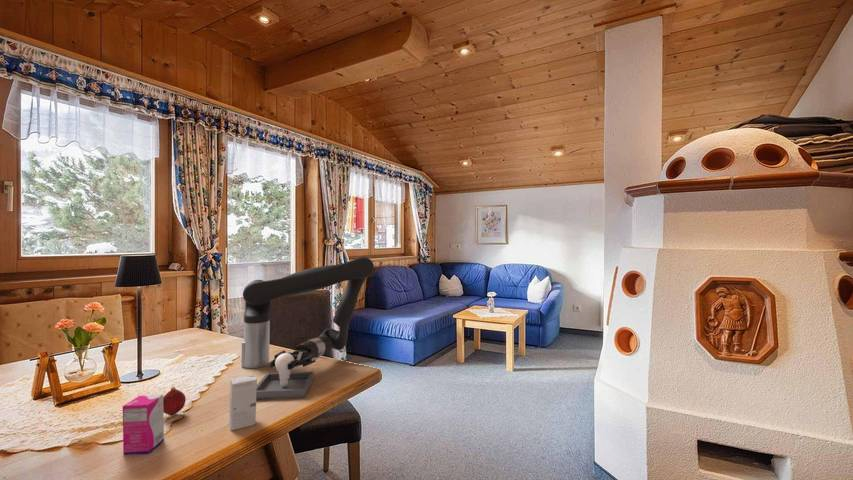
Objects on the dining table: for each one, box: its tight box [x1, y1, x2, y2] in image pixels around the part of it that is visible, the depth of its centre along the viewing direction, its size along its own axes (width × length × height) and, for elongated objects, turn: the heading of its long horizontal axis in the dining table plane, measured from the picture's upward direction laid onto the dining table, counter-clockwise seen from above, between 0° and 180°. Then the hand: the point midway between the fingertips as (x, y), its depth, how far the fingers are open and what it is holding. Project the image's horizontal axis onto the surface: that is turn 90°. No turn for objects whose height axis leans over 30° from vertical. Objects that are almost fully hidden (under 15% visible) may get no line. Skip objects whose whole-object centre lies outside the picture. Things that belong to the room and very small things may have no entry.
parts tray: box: [256, 371, 315, 401], centre depth 121 cm, size 16×16×2 cm
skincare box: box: [228, 375, 258, 431], centre depth 97 cm, size 6×4×12 cm
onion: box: [163, 386, 186, 417], centre depth 102 cm, size 6×6×8 cm
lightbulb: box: [274, 352, 294, 387], centre depth 121 cm, size 6×6×11 cm
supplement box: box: [122, 394, 165, 456], centre depth 86 cm, size 6×6×12 cm
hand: (280, 365), depth 118 cm, fingers open, 6 cm apart
